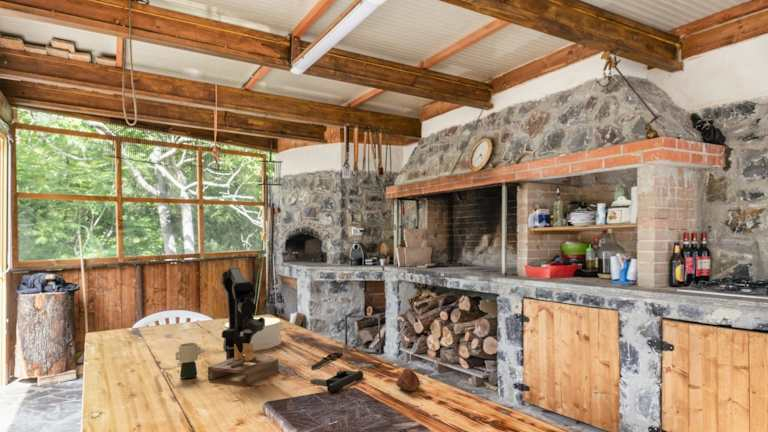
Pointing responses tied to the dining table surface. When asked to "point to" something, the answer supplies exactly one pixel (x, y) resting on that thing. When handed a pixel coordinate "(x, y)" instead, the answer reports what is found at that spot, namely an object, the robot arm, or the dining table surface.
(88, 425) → the dining table surface
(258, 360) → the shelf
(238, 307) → the robot arm
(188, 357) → the character mug
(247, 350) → the tall grooved wooden block
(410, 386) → the fossil
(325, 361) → the knife
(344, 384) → the door handle
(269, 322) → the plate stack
